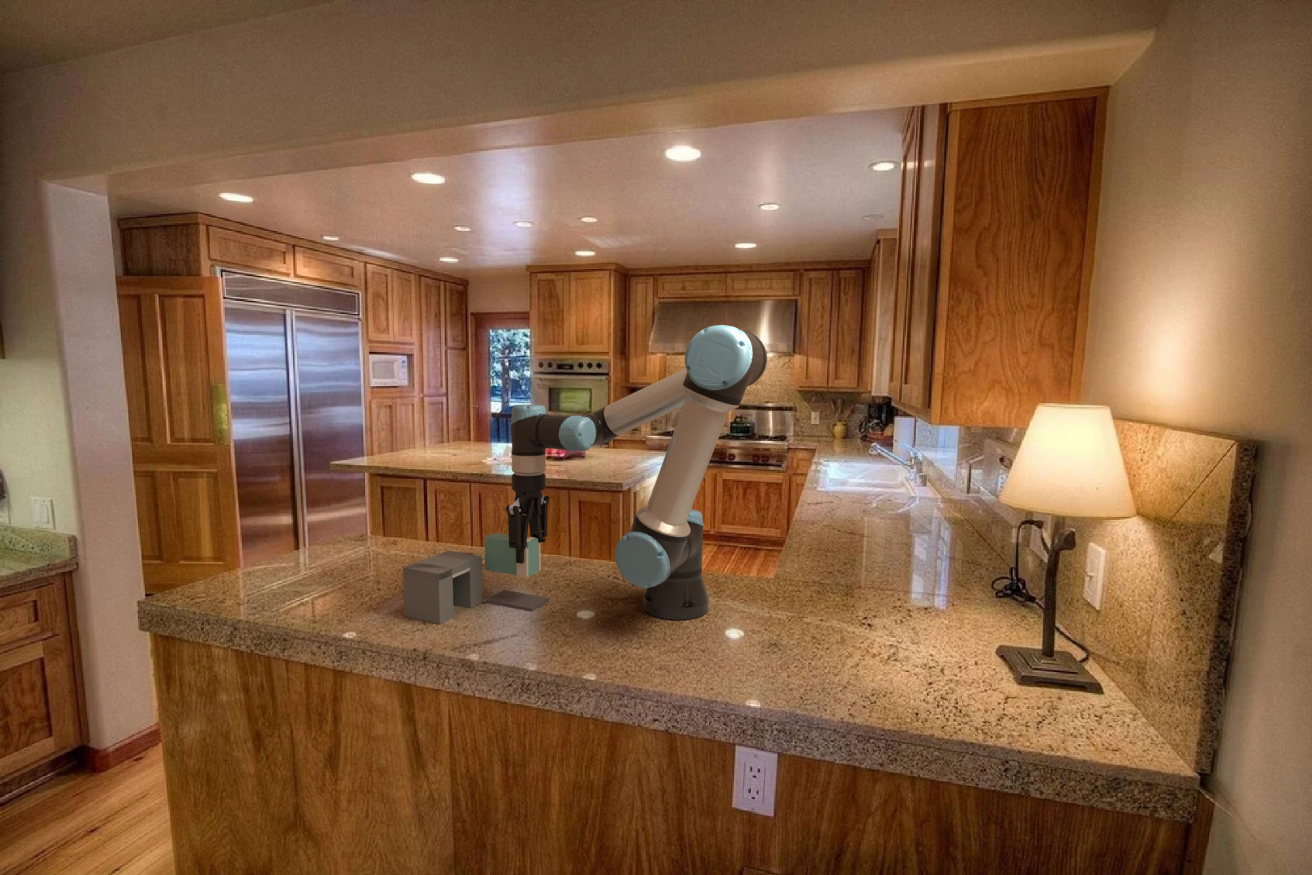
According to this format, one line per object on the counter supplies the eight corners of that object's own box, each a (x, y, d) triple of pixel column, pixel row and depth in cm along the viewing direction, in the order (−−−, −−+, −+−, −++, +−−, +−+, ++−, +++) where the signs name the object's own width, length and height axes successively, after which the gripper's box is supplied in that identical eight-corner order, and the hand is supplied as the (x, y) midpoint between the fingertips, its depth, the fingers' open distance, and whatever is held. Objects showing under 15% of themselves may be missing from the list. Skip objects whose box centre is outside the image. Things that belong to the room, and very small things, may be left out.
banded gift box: (538, 571, 133) (538, 538, 132) (527, 577, 129) (527, 542, 129) (496, 564, 138) (495, 532, 137) (485, 570, 134) (484, 536, 133)
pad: (549, 600, 134) (549, 598, 134) (531, 611, 128) (531, 608, 128) (504, 591, 139) (504, 589, 139) (485, 601, 133) (485, 599, 133)
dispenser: (482, 601, 133) (481, 555, 132) (440, 624, 121) (438, 573, 119) (449, 595, 137) (448, 550, 136) (404, 616, 124) (403, 567, 123)
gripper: (536, 466, 139) (536, 559, 141) (490, 477, 123) (491, 582, 125) (563, 468, 136) (562, 564, 138) (519, 480, 120) (519, 587, 122)
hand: (528, 572), depth 132 cm, fingers closed on banded gift box, 4 cm apart
